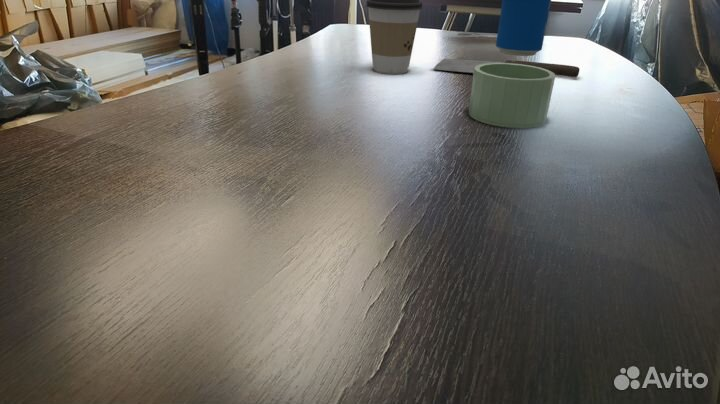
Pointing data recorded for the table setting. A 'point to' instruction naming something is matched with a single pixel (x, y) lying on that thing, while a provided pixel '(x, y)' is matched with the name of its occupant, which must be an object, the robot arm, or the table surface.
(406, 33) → the coffee cup
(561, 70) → the cleaver
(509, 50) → the beverage can
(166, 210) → the table surface
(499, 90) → the canister
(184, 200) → the table surface
